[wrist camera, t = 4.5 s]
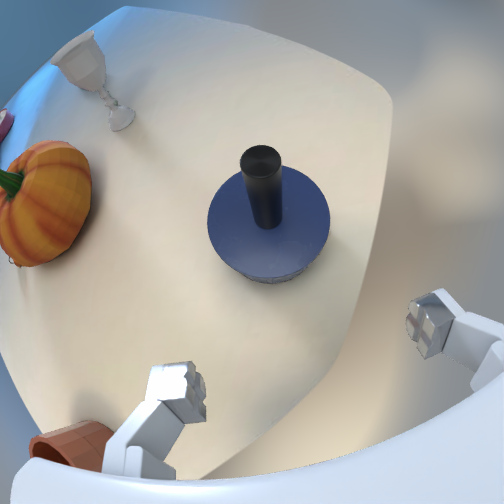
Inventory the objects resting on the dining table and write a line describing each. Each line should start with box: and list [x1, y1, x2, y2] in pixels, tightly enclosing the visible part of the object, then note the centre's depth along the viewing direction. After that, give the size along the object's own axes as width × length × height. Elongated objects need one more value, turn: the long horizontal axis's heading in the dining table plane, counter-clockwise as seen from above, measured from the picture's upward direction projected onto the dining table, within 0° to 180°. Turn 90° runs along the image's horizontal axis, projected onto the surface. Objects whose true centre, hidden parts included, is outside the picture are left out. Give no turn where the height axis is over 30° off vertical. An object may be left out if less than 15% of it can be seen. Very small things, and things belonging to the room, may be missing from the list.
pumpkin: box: [0, 140, 92, 267], centre depth 29 cm, size 19×19×15 cm
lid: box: [207, 145, 330, 279], centre depth 22 cm, size 11×11×10 cm
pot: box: [29, 421, 114, 473], centre depth 21 cm, size 10×10×10 cm
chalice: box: [50, 30, 135, 131], centre depth 31 cm, size 7×7×18 cm
